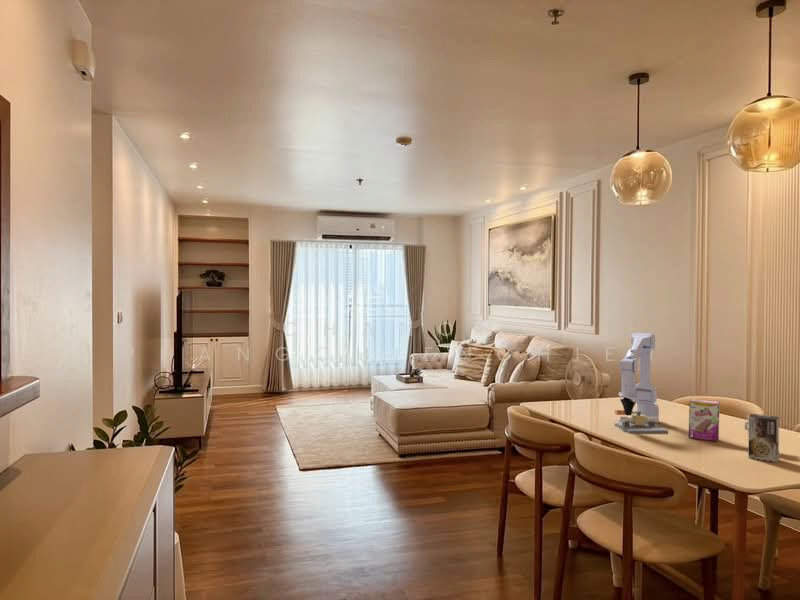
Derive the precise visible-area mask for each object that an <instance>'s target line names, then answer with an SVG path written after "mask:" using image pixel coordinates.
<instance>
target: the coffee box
mask: <svg viewBox="0 0 800 600" xmlns="http://www.w3.org/2000/svg"><path fill="white" fill-rule="evenodd" d="M779 417H780V416H774V415H767V414H765V415H764V414H759V413H758V414H757V413H749V415H748V416H747V422H748V424H747V427H748V429H749V432H748V446H747V447H748V450H747V451H748V453H747V454H748V457H749V458H748V457H747V458H748V459H751V458H754V459H753V460H757V459H759V460H758V461H763V460H766V461H765V462H769V461H772V462H771V463H775V462H777V461H778V462H779V460H780V455H779V454H780V453H779V452H780V450H779V447H780V445H779V443H780V441H779V439H780V436H779V435H780V433H779V432H780V428H779V426H780V425H779V424H780V422H779V421H780V418H779ZM778 462H777V463H778Z"/></svg>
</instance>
